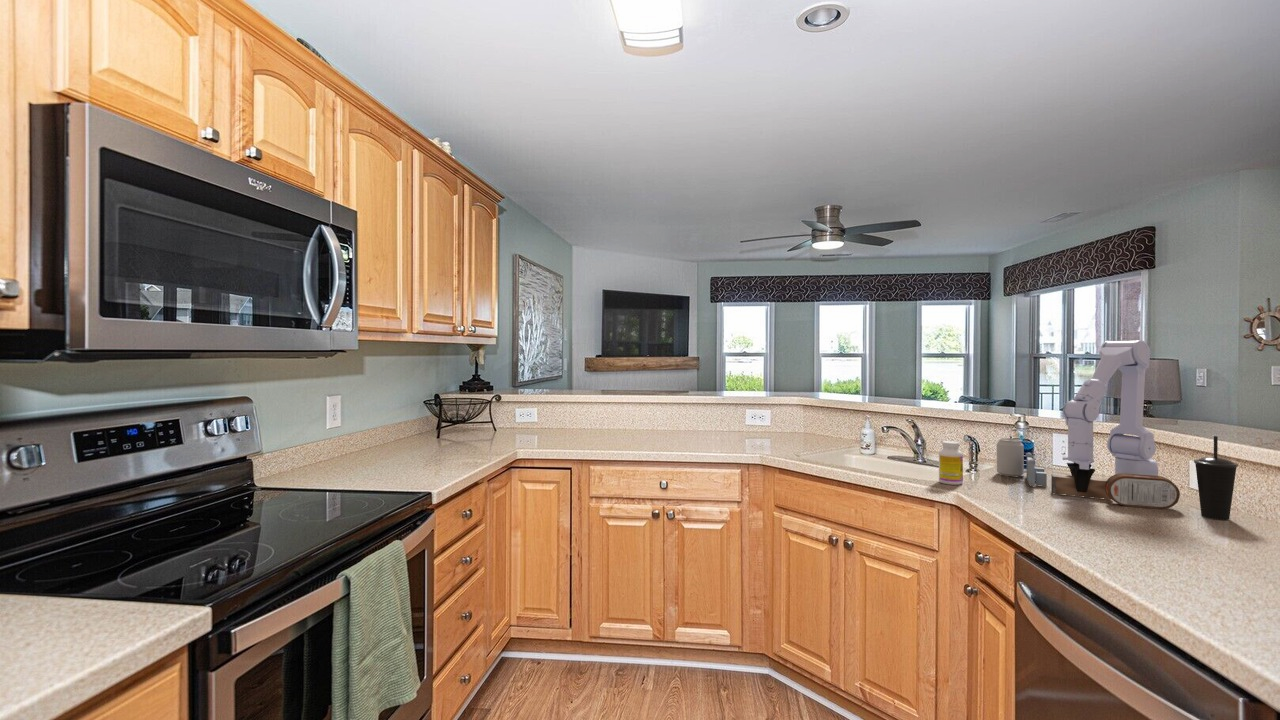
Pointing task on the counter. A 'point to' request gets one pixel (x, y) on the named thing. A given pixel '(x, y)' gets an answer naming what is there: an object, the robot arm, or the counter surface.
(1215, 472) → the drinking cup
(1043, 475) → the grey blocky bracket
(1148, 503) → the tin
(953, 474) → the supplement bottle
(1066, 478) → the rail
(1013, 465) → the can
